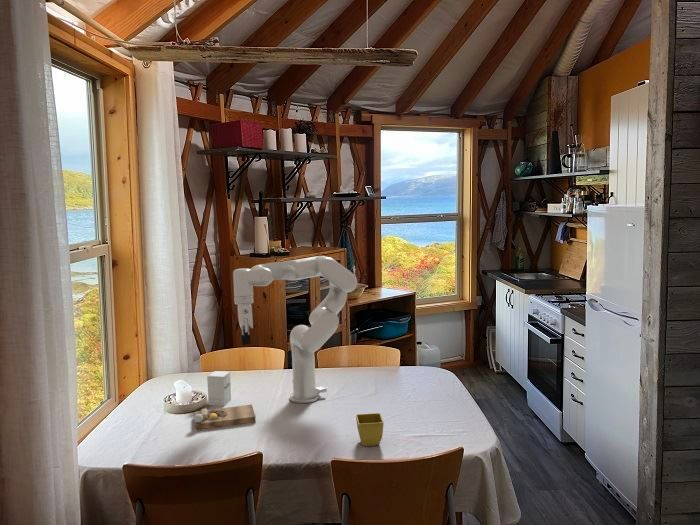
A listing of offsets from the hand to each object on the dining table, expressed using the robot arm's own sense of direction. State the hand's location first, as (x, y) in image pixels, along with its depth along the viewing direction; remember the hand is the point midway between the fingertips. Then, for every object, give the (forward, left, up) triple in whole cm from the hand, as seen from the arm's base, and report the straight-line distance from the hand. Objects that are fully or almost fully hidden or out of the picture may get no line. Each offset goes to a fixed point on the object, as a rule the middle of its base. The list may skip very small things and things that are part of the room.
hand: (246, 344), depth 218 cm
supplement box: (+11, -11, -27) cm, 31 cm away
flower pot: (-37, +46, -27) cm, 65 cm away
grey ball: (+20, +14, -23) cm, 33 cm away
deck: (+10, +9, -27) cm, 30 cm away
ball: (+14, +9, -26) cm, 30 cm away
